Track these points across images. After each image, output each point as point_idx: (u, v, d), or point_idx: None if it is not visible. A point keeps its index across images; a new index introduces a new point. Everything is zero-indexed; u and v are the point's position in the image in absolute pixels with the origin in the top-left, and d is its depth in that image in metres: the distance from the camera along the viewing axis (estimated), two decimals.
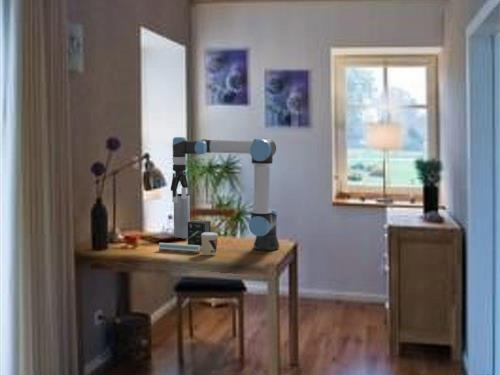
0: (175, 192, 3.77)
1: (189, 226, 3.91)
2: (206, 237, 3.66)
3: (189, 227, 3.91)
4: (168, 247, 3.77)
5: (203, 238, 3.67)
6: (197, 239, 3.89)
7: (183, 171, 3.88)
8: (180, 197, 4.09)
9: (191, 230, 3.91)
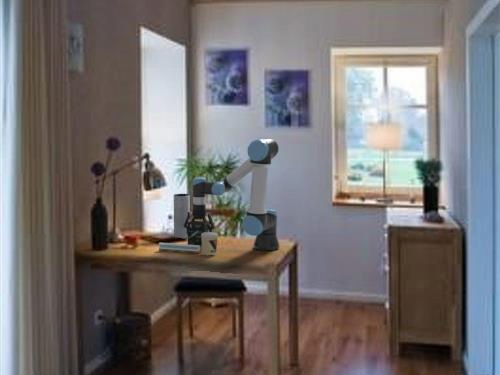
0: (187, 229, 3.95)
1: (189, 226, 3.91)
2: (206, 237, 3.66)
3: (189, 227, 3.91)
4: (168, 247, 3.77)
5: (203, 238, 3.67)
6: (197, 239, 3.89)
7: None
8: (180, 197, 4.09)
9: (191, 230, 3.90)
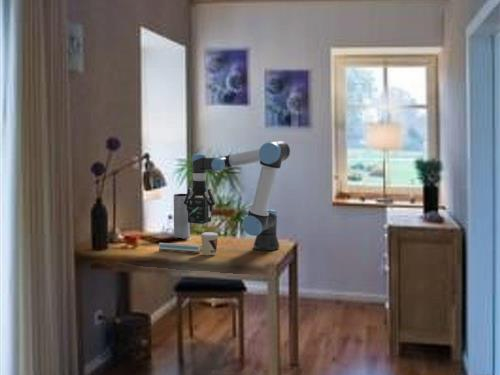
0: (187, 206, 3.93)
1: (189, 202, 3.89)
2: (206, 237, 3.66)
3: (189, 203, 3.89)
4: (168, 247, 3.77)
5: (203, 238, 3.67)
6: (197, 215, 3.87)
7: (208, 189, 3.88)
8: (180, 197, 4.09)
9: (191, 206, 3.89)
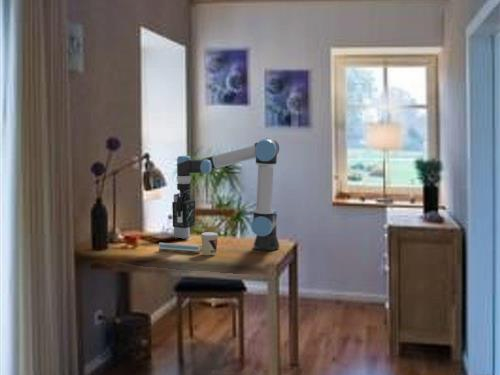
0: (180, 212, 3.74)
1: (187, 207, 3.75)
2: (206, 237, 3.66)
3: (187, 208, 3.75)
4: (168, 247, 3.77)
5: (203, 238, 3.67)
6: (191, 218, 3.81)
7: None
8: None
9: (188, 211, 3.76)
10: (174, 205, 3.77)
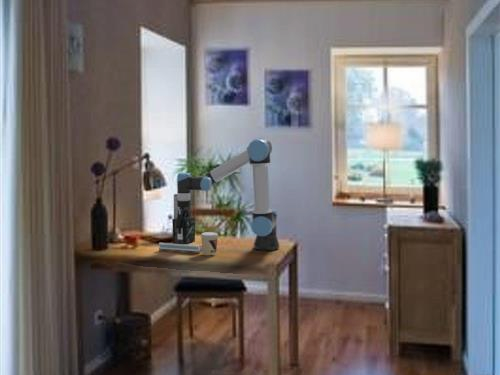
0: (180, 229, 3.75)
1: (187, 224, 3.76)
2: (206, 237, 3.66)
3: (187, 225, 3.76)
4: (168, 247, 3.77)
5: (203, 238, 3.67)
6: (191, 235, 3.82)
7: (187, 207, 3.86)
8: None
9: (188, 227, 3.78)
10: (174, 222, 3.78)
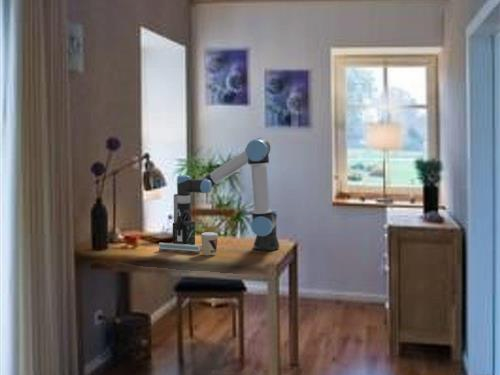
0: (180, 231, 3.75)
1: (187, 228, 3.77)
2: (206, 237, 3.66)
3: (187, 229, 3.77)
4: (168, 247, 3.77)
5: (203, 238, 3.67)
6: (191, 239, 3.82)
7: None
8: None
9: (188, 232, 3.78)
10: (174, 226, 3.78)
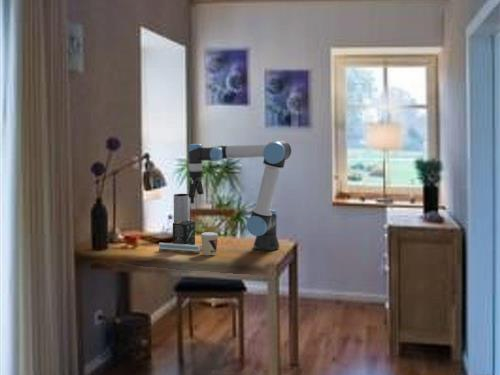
0: (193, 199, 3.78)
1: (187, 228, 3.77)
2: (206, 237, 3.66)
3: (187, 229, 3.77)
4: (168, 247, 3.77)
5: (203, 238, 3.67)
6: (191, 239, 3.82)
7: (199, 178, 3.90)
8: (180, 197, 4.09)
9: (188, 232, 3.78)
10: (174, 226, 3.78)
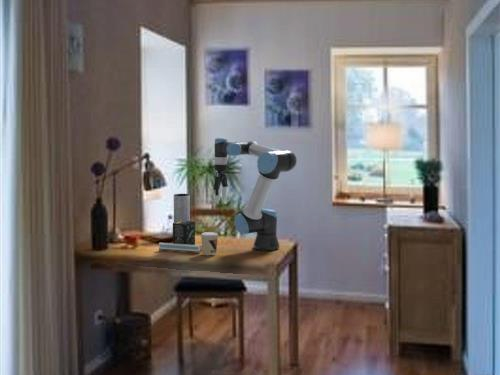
0: (218, 191, 3.90)
1: (187, 228, 3.77)
2: (206, 237, 3.66)
3: (187, 229, 3.77)
4: (168, 247, 3.77)
5: (203, 238, 3.67)
6: (191, 239, 3.82)
7: (224, 171, 4.02)
8: (180, 197, 4.09)
9: (188, 232, 3.78)
10: (174, 226, 3.78)
